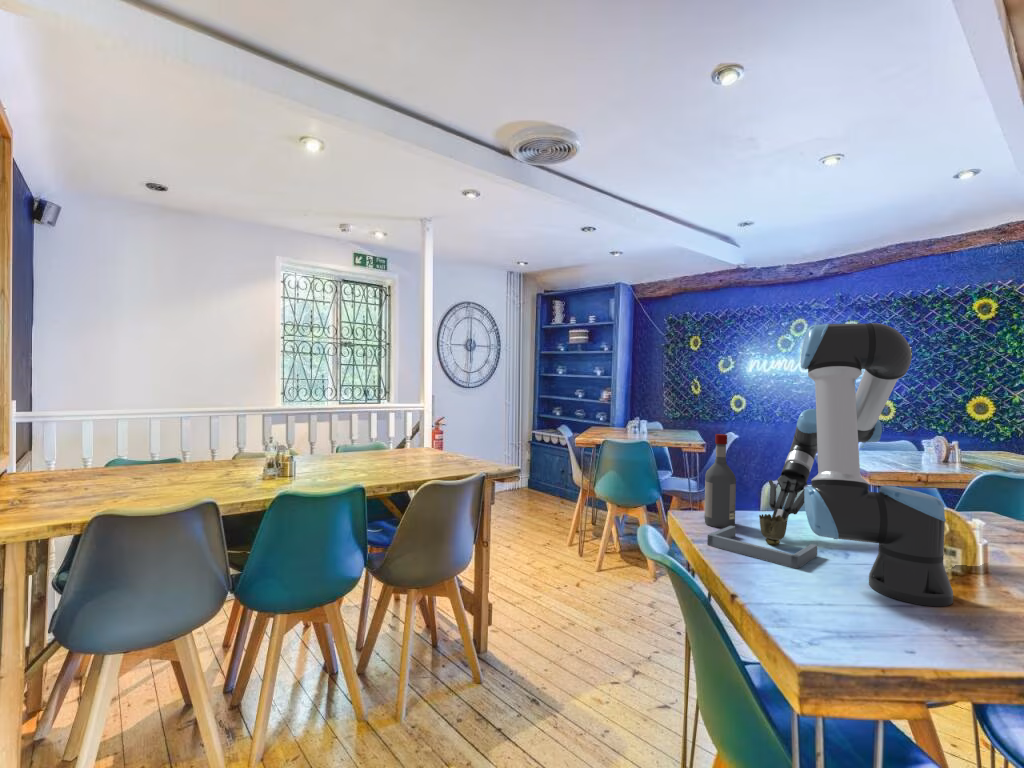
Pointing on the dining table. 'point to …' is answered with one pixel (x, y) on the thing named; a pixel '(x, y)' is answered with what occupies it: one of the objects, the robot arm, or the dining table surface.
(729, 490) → the liquor
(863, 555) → the dining table surface
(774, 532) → the cup
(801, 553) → the corral
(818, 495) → the robot arm
